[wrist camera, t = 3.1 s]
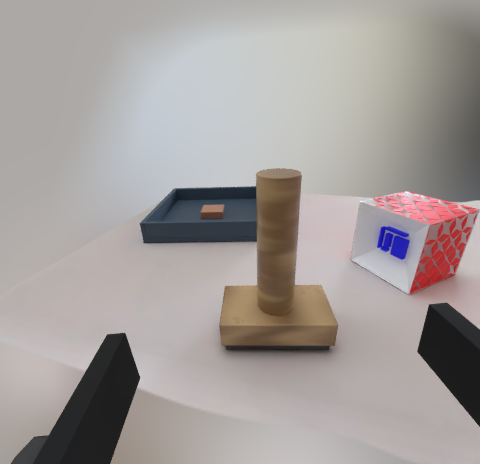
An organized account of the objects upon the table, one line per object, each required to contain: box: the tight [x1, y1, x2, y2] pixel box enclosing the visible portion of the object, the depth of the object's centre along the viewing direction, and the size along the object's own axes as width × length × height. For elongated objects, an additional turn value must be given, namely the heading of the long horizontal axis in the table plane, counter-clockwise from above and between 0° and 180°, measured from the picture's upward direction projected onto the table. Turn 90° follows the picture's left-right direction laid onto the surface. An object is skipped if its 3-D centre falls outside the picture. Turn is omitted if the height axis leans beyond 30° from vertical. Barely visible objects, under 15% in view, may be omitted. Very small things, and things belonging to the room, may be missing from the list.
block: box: [200, 205, 225, 218], centre depth 47 cm, size 4×4×1 cm
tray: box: [140, 186, 257, 243], centre depth 47 cm, size 19×19×3 cm
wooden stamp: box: [220, 169, 338, 350], centre depth 20 cm, size 9×5×14 cm, turn 88°
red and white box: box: [350, 191, 480, 294], centre depth 30 cm, size 8×8×8 cm
